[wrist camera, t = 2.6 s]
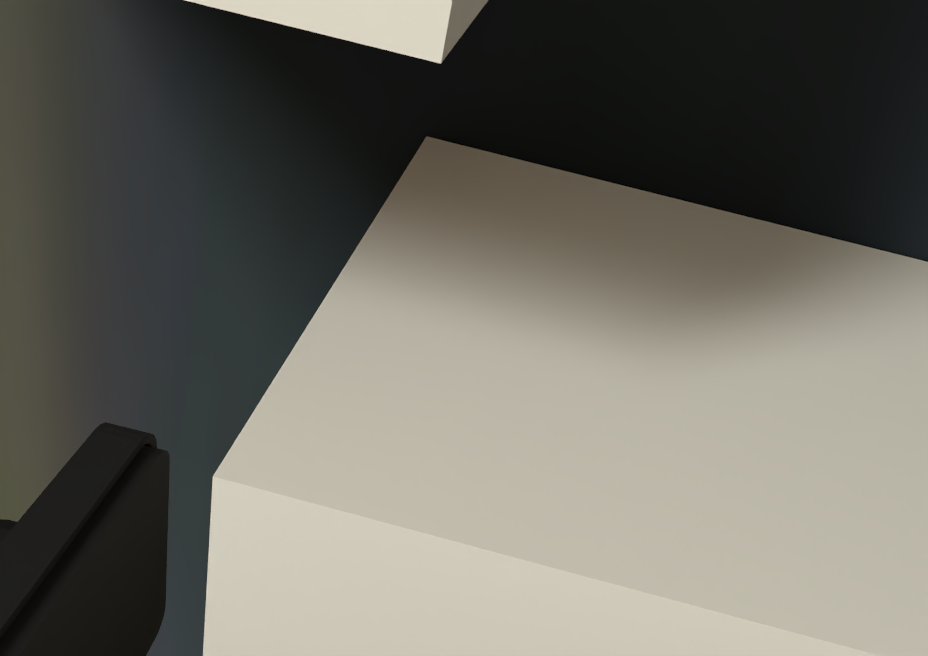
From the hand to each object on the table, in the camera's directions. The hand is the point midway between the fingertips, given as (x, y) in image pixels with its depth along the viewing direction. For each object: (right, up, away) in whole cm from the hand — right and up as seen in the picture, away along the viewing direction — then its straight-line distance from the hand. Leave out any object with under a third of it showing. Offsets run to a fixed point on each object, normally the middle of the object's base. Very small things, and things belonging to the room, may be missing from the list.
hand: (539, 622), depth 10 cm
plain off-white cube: (+1, +2, +3) cm, 4 cm away
